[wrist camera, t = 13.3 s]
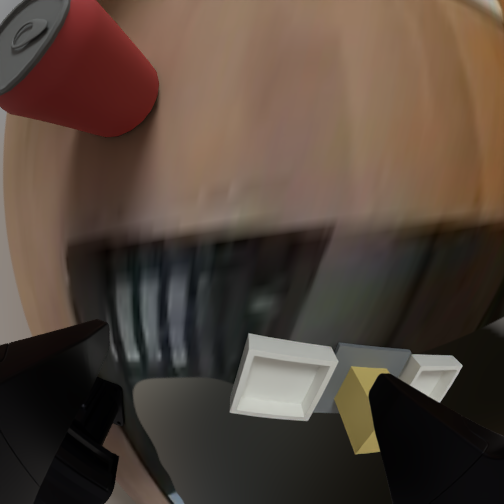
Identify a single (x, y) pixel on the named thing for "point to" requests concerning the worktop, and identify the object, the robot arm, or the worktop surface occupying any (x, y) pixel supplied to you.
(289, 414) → the shallow white dish
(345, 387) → the tan carton
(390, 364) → the slate coaster
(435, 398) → the white square tray
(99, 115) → the beer can
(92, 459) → the robot arm
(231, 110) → the worktop surface
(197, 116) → the worktop surface
